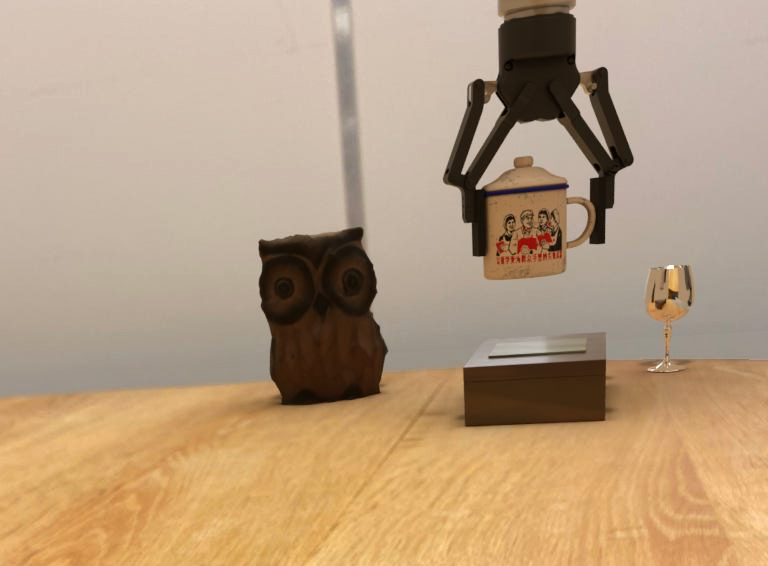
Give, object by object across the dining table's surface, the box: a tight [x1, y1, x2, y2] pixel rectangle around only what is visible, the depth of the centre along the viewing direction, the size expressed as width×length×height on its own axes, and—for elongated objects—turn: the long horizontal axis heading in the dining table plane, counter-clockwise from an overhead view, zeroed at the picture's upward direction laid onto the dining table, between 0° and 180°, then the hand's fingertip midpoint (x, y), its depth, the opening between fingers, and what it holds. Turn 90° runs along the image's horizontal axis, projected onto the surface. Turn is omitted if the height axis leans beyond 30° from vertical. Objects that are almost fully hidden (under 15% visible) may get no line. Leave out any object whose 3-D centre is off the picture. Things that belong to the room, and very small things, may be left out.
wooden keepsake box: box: [462, 331, 607, 427], centre depth 117 cm, size 22×14×6 cm, turn 165°
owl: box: [257, 226, 389, 406], centre depth 132 cm, size 13×13×20 cm
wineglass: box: [643, 264, 696, 373], centre depth 129 cm, size 6×6×12 cm
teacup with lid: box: [480, 155, 596, 281], centre depth 111 cm, size 12×9×12 cm
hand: (538, 250), depth 112 cm, fingers closed on teacup with lid, 12 cm apart
